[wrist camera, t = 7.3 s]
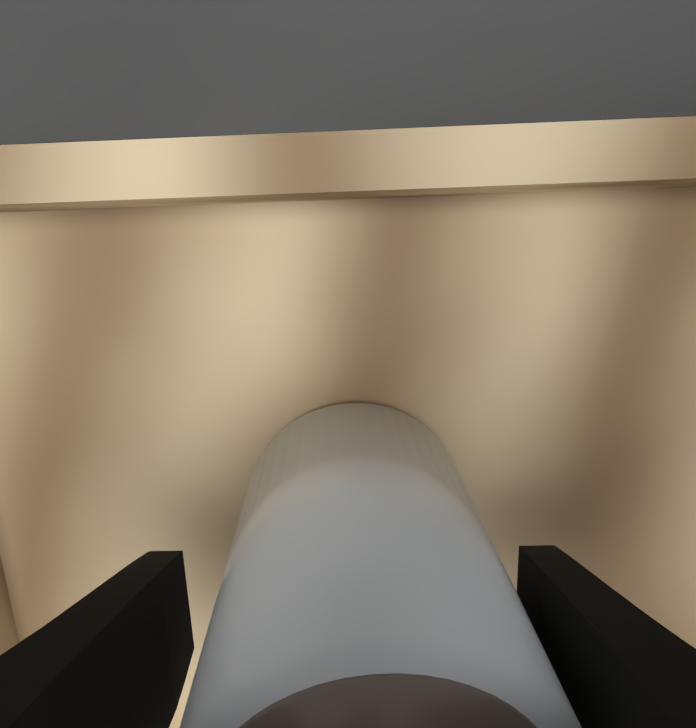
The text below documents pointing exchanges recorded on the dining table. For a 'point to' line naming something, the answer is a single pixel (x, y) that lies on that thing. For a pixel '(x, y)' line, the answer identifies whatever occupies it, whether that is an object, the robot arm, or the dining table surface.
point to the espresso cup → (367, 593)
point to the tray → (348, 341)
